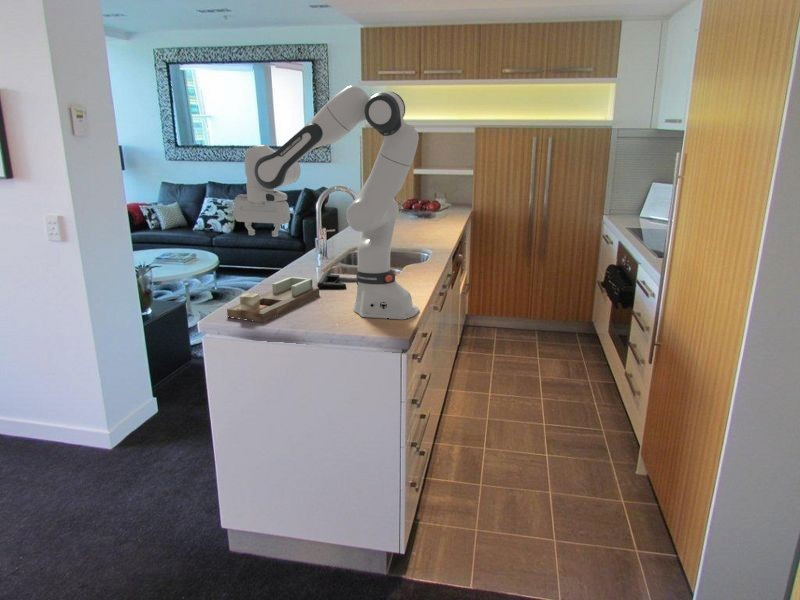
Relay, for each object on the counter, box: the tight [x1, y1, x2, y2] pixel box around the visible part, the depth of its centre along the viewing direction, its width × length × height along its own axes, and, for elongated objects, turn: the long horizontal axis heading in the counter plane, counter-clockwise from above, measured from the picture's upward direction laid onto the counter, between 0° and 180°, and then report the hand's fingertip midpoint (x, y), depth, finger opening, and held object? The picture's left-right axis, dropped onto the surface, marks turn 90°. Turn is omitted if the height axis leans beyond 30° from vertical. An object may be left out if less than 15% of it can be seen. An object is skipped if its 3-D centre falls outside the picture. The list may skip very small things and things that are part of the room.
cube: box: [239, 292, 260, 311], centre depth 190 cm, size 4×4×4 cm
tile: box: [237, 305, 267, 312], centre depth 192 cm, size 7×7×1 cm
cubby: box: [271, 276, 314, 296], centre depth 214 cm, size 10×12×4 cm
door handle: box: [315, 271, 357, 290], centre depth 237 cm, size 3×20×16 cm
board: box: [226, 286, 320, 323], centre depth 205 cm, size 14×36×3 cm, turn 158°
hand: (263, 235), depth 199 cm, fingers open, 8 cm apart
